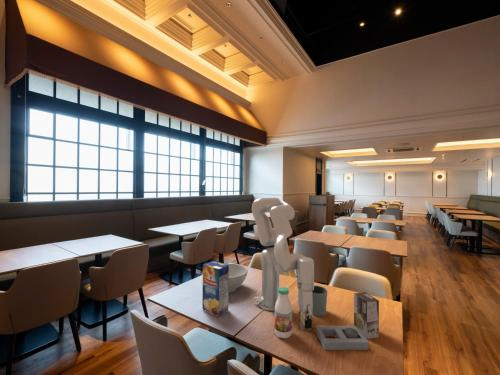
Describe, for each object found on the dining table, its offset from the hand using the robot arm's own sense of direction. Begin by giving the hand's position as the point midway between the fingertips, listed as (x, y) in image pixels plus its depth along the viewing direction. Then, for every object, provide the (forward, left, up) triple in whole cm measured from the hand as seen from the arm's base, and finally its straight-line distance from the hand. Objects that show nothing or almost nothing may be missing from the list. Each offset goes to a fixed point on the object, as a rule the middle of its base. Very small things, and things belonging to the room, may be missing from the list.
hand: (305, 321), depth 107 cm
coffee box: (+27, -3, -3) cm, 27 cm away
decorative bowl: (-40, +42, -3) cm, 58 cm away
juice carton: (-44, +16, -3) cm, 47 cm away
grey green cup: (+10, +14, -3) cm, 18 cm away
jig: (+13, -9, -3) cm, 16 cm away
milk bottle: (-11, -4, -3) cm, 12 cm away
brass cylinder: (0, 0, -3) cm, 3 cm away
